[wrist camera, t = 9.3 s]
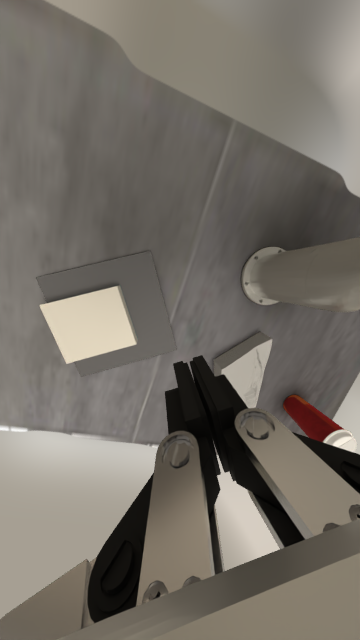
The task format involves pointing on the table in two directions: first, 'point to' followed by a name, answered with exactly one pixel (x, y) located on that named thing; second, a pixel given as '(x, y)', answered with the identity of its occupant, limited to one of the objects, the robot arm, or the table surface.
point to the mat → (140, 299)
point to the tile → (90, 324)
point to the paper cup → (318, 424)
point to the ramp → (245, 366)
